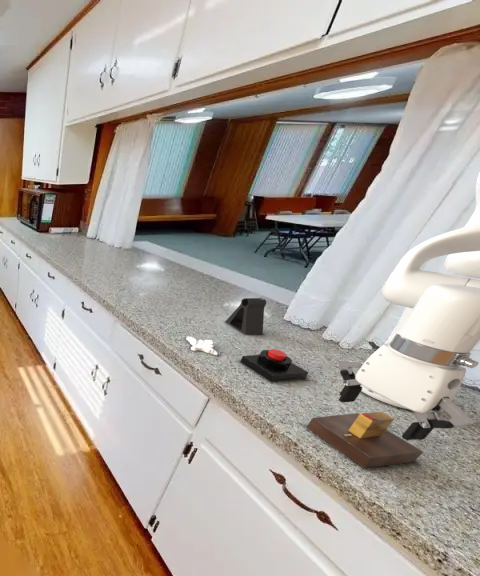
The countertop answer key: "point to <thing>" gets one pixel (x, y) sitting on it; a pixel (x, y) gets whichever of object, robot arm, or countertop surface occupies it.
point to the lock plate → (363, 442)
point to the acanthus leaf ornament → (202, 345)
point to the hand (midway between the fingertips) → (375, 418)
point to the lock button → (277, 354)
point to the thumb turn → (370, 424)
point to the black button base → (273, 367)
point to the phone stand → (248, 316)
